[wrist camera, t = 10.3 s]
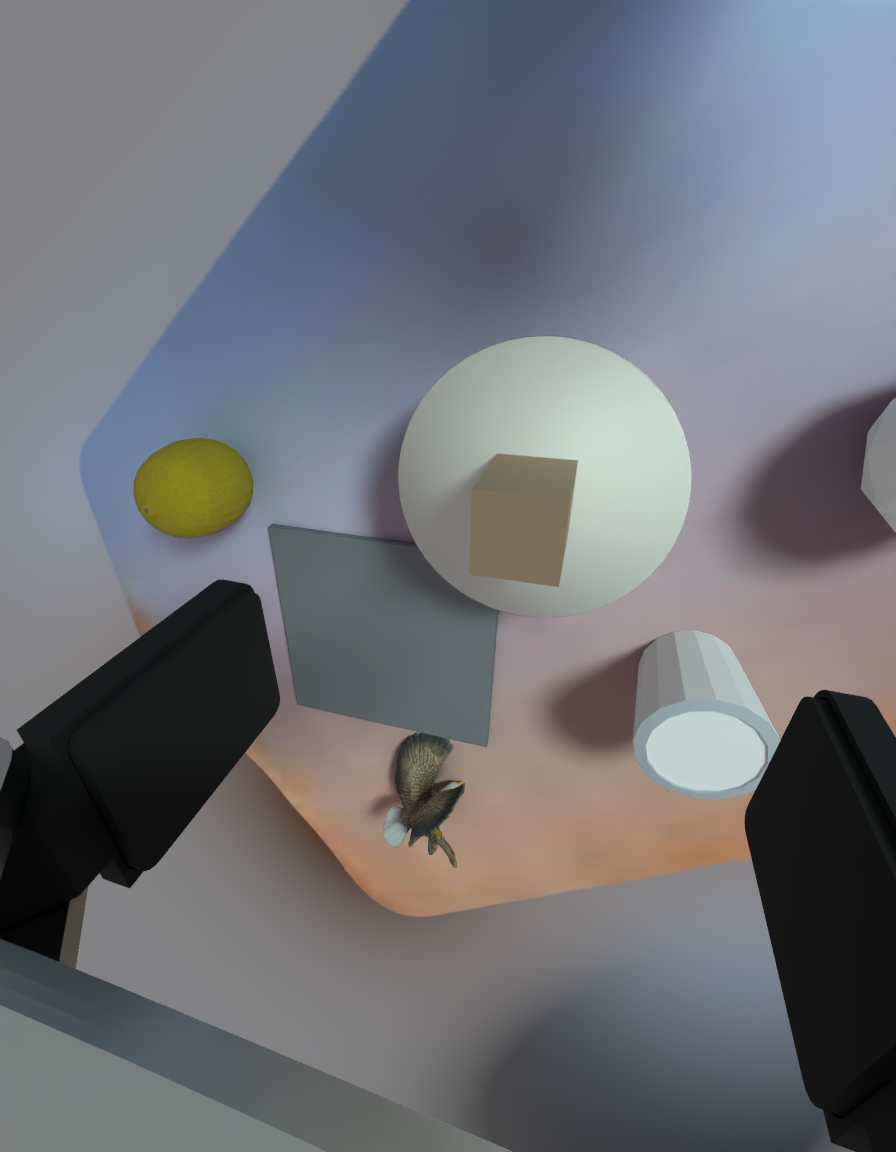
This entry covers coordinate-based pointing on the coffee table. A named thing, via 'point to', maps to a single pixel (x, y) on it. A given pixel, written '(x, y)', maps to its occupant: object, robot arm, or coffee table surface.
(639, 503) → the lid
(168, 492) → the lemon
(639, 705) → the shot glass
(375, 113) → the coffee table surface
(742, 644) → the coffee table surface
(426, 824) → the eagle figurine
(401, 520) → the coffee table surface
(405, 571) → the mat
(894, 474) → the geometric ball
